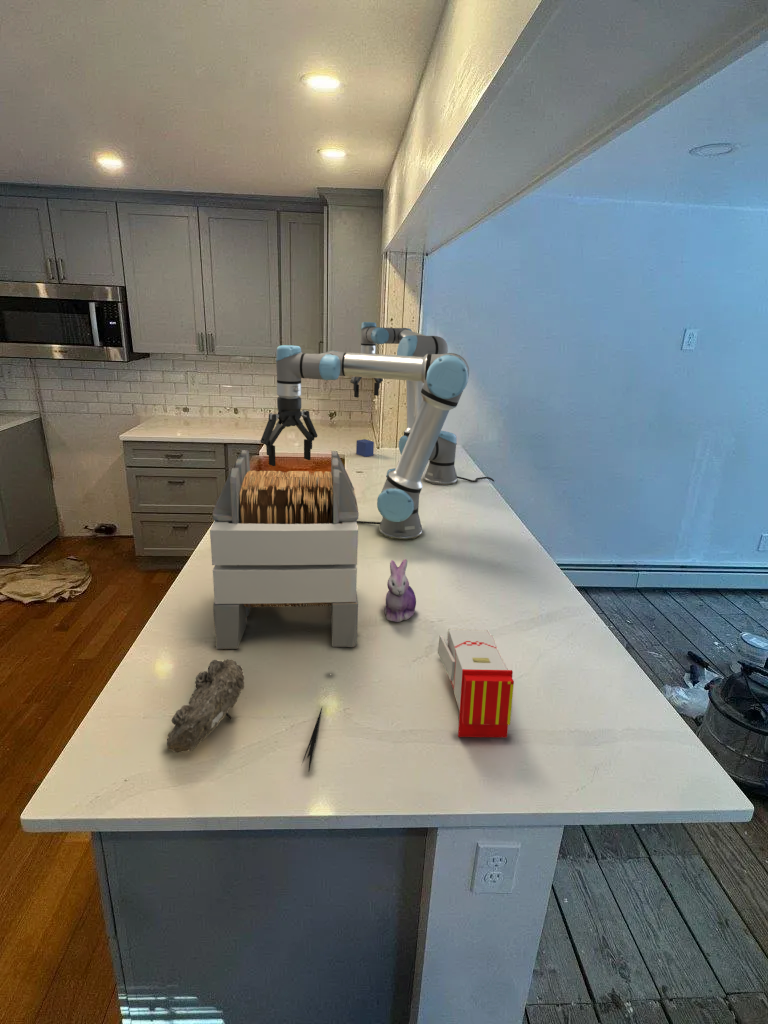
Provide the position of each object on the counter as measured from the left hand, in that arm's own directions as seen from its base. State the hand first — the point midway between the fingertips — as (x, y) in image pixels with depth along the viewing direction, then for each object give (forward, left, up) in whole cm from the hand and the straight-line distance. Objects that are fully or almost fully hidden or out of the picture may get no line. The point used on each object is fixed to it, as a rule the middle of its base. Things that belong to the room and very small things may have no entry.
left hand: (290, 462), depth 185 cm
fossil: (+69, -60, -26) cm, 95 cm away
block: (-75, +93, -26) cm, 122 cm away
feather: (+82, -44, -26) cm, 97 cm away
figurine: (+61, -5, -26) cm, 67 cm away
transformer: (+44, -28, -26) cm, 58 cm away
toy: (+94, -15, -26) cm, 99 cm away
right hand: (-75, +93, +5) cm, 120 cm away
